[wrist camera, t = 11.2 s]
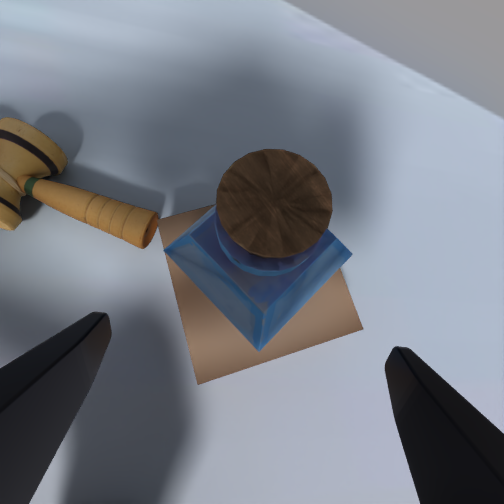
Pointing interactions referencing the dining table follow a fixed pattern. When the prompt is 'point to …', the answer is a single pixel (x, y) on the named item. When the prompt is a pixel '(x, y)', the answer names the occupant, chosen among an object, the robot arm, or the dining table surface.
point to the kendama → (59, 187)
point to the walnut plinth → (229, 337)
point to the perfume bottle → (263, 242)
